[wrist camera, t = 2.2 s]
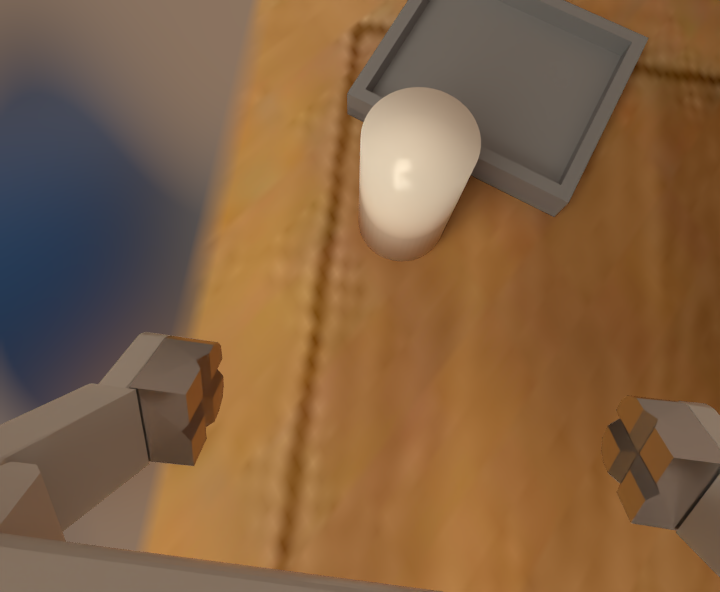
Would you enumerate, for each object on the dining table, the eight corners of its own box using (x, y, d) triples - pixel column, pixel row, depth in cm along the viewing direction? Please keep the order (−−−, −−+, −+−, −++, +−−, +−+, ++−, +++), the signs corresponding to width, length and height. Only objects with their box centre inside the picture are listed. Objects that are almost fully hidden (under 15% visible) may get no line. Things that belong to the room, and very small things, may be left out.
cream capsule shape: (457, 206, 36) (500, 119, 26) (418, 276, 35) (447, 215, 24) (383, 168, 37) (396, 68, 26) (343, 235, 36) (338, 159, 25)
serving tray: (630, 61, 40) (648, 37, 37) (554, 216, 36) (568, 202, 34) (437, -27, 41) (443, -54, 39) (347, 113, 38) (347, 93, 36)
